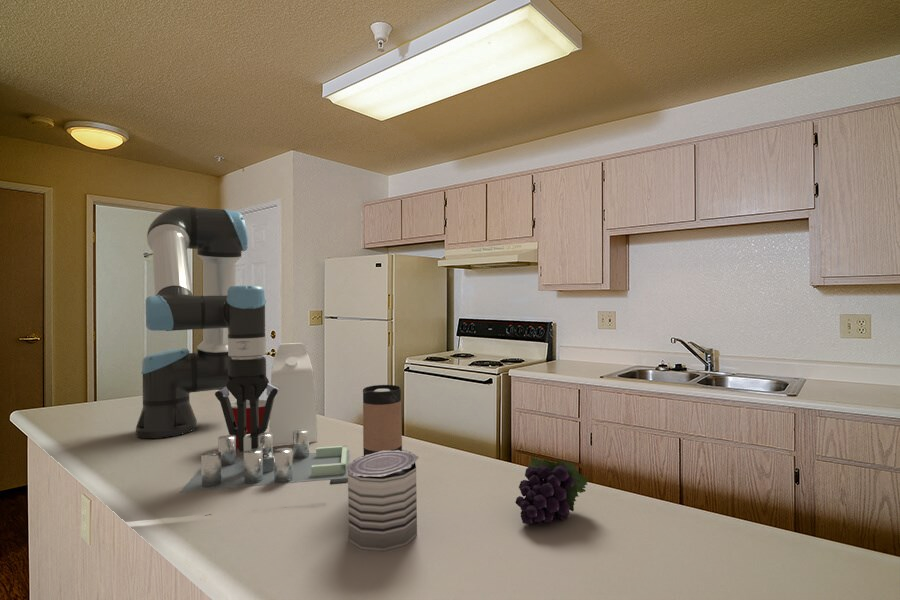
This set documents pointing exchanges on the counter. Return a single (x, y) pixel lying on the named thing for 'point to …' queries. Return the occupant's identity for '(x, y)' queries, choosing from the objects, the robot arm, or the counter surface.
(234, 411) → the plastic cup
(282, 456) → the spacers
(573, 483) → the fruit
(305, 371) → the milk
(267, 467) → the nut
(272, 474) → the board
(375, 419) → the travel mug
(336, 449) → the parts pocket
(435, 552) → the counter surface
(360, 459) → the can
